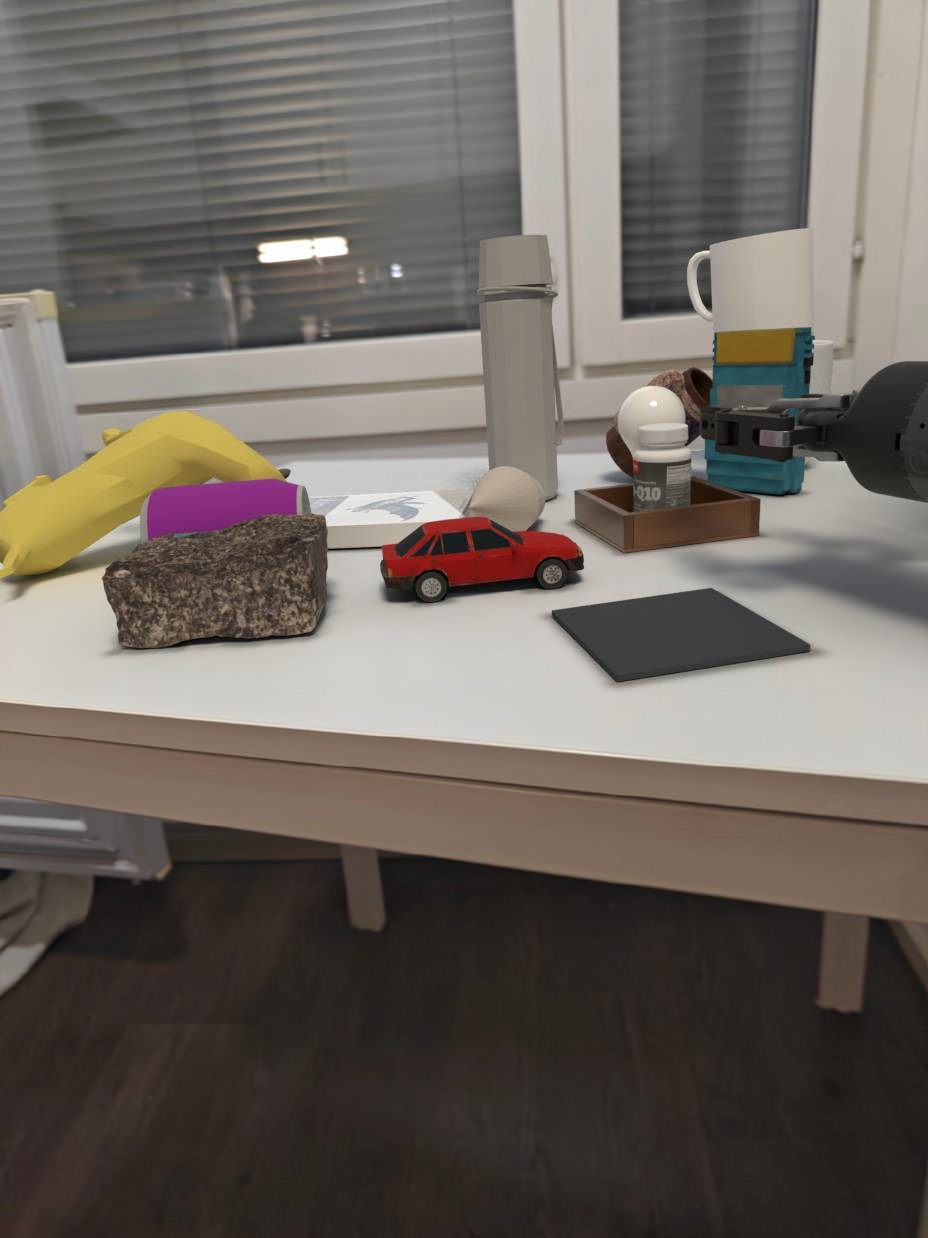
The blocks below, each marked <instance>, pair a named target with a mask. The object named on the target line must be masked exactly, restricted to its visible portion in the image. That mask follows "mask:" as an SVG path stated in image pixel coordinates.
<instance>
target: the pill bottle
mask: <svg viewBox="0 0 928 1238" xmlns="http://www.w3.org/2000/svg"><path fill="white" fill-rule="evenodd" d="M687 440H688V425H686V424H682V423H660V424H651V425H645V426H641V427H639V429H638V444H639V445H641V447H640V448H639V449H638V450H636V452H635V453H634V459H633V473H634V474H633V478H632V480H633V481H632V482H633V483H634V484H633V494H634V496H633V512H638V511H646V510H654V509H662V508H671V507H679V506H687V505H690V496H691V477H692V451H691V449H690V448H689V447H688V446H687V447H685V445H684V444H685V443H687Z"/></svg>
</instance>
